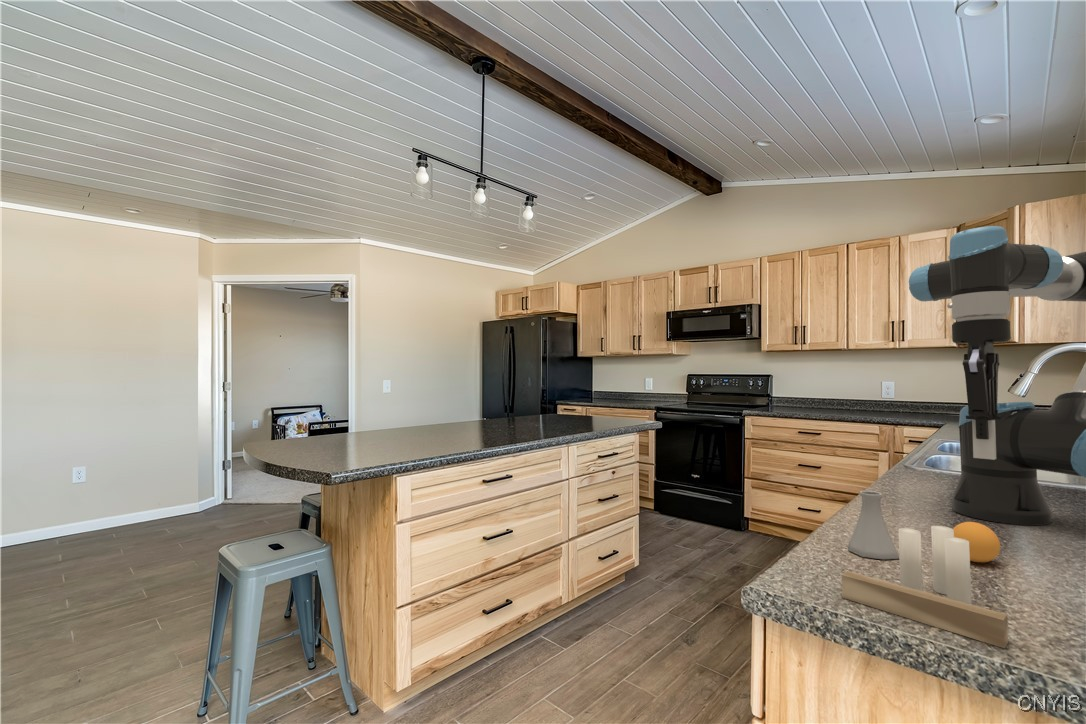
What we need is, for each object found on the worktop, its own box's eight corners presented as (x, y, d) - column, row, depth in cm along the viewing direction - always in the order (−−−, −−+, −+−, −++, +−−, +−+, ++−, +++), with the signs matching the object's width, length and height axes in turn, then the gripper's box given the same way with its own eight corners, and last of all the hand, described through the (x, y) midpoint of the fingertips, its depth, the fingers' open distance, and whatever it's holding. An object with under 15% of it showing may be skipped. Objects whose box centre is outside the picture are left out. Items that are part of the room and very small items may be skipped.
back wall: (848, 593, 67) (847, 571, 67) (1008, 642, 55) (1007, 614, 55) (842, 597, 66) (841, 574, 66) (1004, 648, 53) (1003, 620, 54)
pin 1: (904, 589, 68) (901, 526, 69) (925, 595, 66) (923, 531, 67) (898, 594, 67) (895, 530, 67) (919, 600, 65) (917, 534, 65)
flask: (908, 562, 78) (906, 498, 78) (857, 559, 79) (855, 497, 80) (886, 547, 85) (884, 488, 85) (840, 544, 87) (838, 487, 87)
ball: (956, 551, 82) (954, 515, 82) (1005, 562, 78) (1003, 523, 78) (945, 560, 79) (944, 522, 79) (996, 571, 74) (994, 531, 74)
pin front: (936, 586, 69) (934, 524, 69) (958, 591, 67) (955, 528, 68) (931, 590, 68) (928, 528, 68) (953, 596, 66) (950, 532, 66)
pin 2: (949, 601, 64) (947, 535, 65) (973, 608, 63) (971, 540, 63) (944, 607, 63) (942, 539, 63) (969, 614, 61) (966, 544, 61)
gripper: (961, 323, 92) (966, 451, 91) (941, 319, 84) (946, 459, 83) (1017, 320, 86) (1022, 456, 85) (1001, 314, 78) (1006, 465, 77)
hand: (984, 458), depth 84 cm, fingers closed
